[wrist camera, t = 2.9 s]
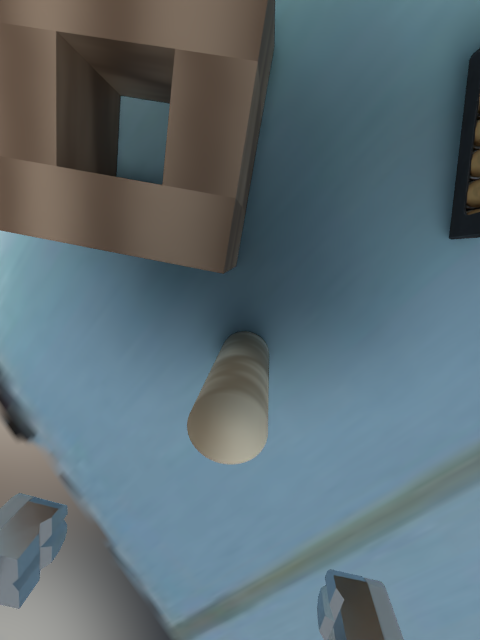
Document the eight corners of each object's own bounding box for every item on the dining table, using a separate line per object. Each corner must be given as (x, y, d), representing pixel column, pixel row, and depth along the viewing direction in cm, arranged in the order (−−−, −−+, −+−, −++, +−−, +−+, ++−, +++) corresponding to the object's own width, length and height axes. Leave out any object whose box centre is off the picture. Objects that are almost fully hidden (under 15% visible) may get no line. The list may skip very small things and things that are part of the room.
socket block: (274, 46, 18) (276, -52, 12) (236, 266, 21) (223, 273, 16) (66, 15, 18) (-27, -90, 13) (65, 233, 22) (-7, 228, 16)
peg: (273, 336, 23) (275, 403, 13) (263, 380, 24) (258, 472, 14) (225, 326, 23) (192, 385, 13) (218, 370, 24) (182, 454, 14)
